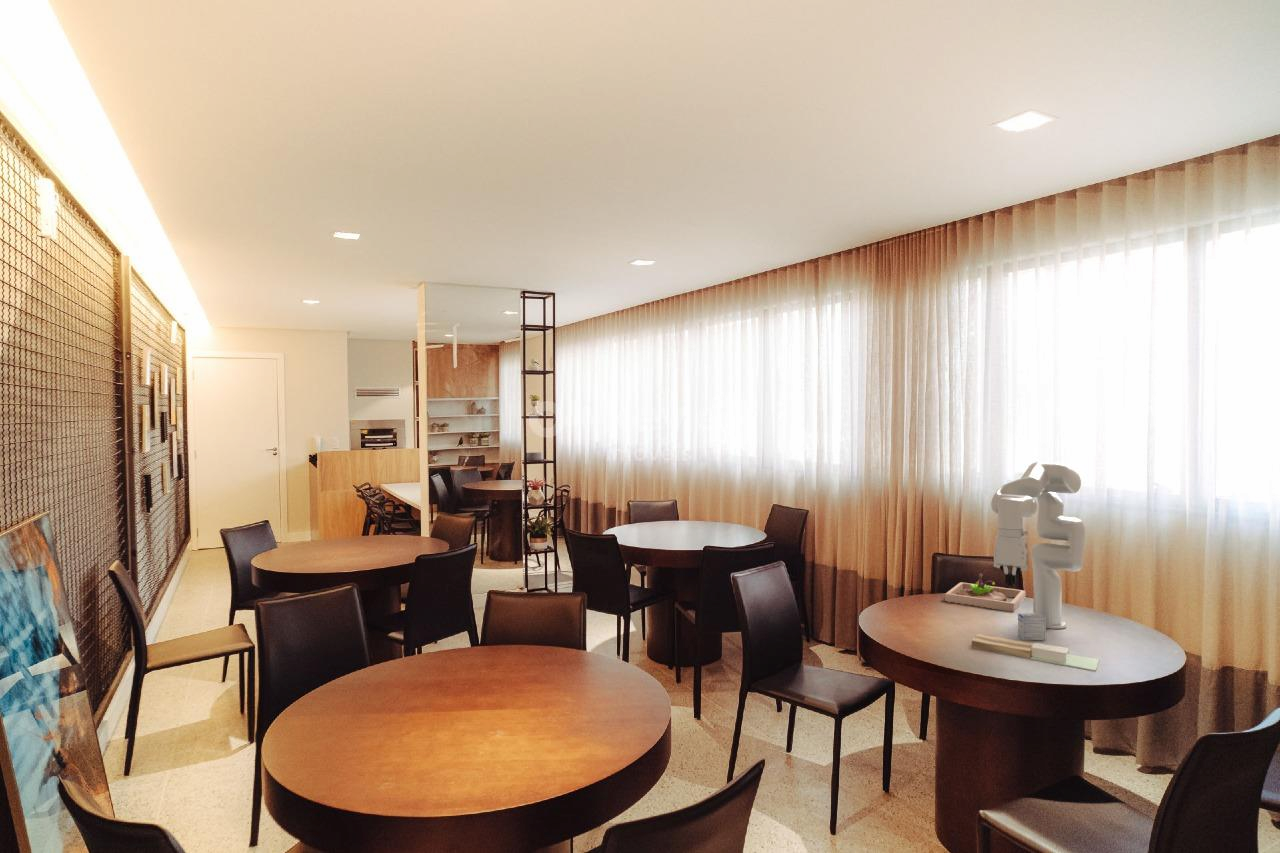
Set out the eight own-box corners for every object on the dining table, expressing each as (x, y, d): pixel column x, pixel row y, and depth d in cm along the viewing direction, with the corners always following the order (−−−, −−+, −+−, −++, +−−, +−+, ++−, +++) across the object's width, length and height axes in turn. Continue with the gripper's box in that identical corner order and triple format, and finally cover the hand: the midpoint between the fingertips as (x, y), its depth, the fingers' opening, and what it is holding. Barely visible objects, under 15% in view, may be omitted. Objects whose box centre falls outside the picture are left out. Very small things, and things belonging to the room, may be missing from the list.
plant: (1006, 596, 311) (1006, 572, 311) (1006, 607, 294) (1006, 581, 294) (958, 591, 320) (957, 567, 320) (955, 601, 303) (955, 576, 303)
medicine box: (1040, 636, 253) (1040, 613, 252) (1046, 640, 248) (1046, 616, 248) (1017, 636, 253) (1017, 613, 253) (1023, 640, 249) (1023, 616, 249)
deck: (978, 640, 249) (978, 633, 249) (1034, 650, 238) (1034, 643, 238) (971, 647, 241) (971, 640, 241) (1029, 658, 230) (1029, 651, 230)
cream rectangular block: (1034, 651, 236) (1034, 642, 236) (1068, 657, 229) (1068, 648, 229) (1031, 656, 231) (1031, 647, 231) (1066, 662, 225) (1066, 653, 225)
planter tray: (960, 589, 323) (960, 582, 323) (1025, 598, 306) (1025, 590, 306) (945, 601, 302) (945, 593, 302) (1014, 612, 285) (1014, 603, 285)
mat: (1036, 649, 238) (1036, 648, 238) (1099, 660, 227) (1099, 659, 227) (1031, 659, 229) (1031, 658, 229) (1095, 671, 218) (1095, 670, 218)
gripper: (1036, 533, 238) (1036, 586, 238) (989, 529, 247) (989, 580, 247) (1033, 536, 232) (1033, 590, 232) (984, 532, 241) (984, 584, 241)
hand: (1010, 585), depth 240 cm, fingers closed
